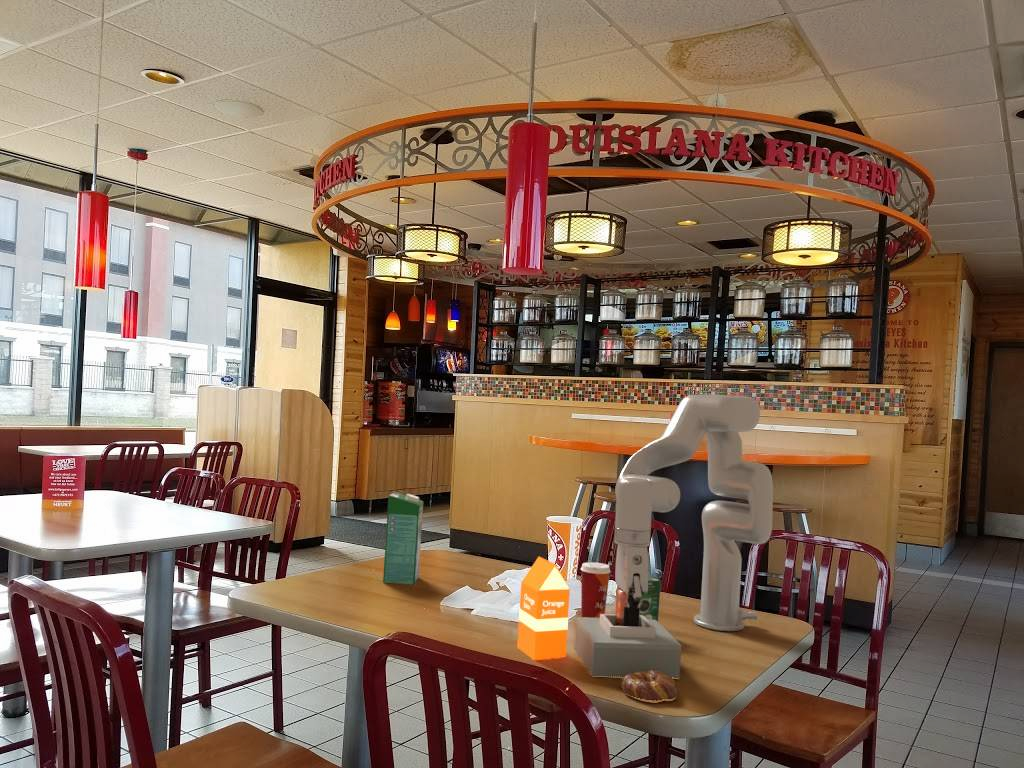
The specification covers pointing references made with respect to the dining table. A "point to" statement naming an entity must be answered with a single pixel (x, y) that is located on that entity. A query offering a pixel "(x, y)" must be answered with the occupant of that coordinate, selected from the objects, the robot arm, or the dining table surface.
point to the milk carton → (403, 539)
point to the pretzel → (649, 685)
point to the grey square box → (626, 647)
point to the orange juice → (543, 612)
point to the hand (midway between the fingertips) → (627, 621)
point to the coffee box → (651, 600)
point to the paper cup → (594, 589)
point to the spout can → (621, 606)
